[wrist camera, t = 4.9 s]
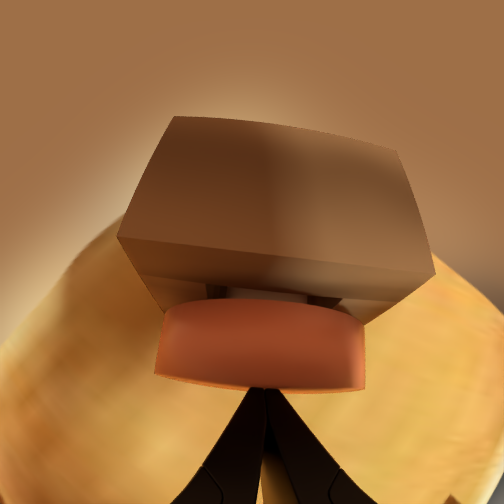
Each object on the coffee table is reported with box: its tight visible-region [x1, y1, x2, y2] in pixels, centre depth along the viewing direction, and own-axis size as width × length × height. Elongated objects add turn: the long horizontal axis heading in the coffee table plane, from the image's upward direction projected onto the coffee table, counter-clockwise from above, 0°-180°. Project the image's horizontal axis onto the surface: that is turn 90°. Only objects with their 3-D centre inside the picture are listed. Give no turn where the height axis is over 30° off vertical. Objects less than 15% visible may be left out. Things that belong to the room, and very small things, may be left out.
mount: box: [117, 116, 436, 326], centre depth 12 cm, size 5×8×10 cm, turn 85°
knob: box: [154, 287, 365, 394], centre depth 11 cm, size 8×7×7 cm
